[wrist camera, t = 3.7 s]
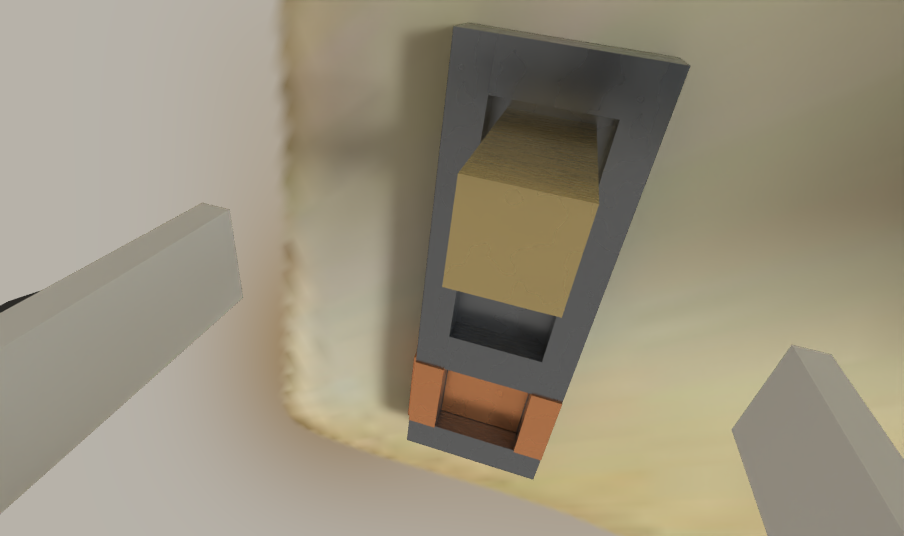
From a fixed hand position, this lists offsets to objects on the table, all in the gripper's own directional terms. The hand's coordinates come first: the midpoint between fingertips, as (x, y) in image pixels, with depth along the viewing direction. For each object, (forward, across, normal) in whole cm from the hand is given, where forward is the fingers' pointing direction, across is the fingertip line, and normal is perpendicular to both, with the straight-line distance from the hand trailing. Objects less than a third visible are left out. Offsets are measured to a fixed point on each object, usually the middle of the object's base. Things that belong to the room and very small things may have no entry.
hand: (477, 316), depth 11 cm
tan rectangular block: (+12, 0, 0) cm, 13 cm away
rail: (+14, +1, -8) cm, 16 cm away
